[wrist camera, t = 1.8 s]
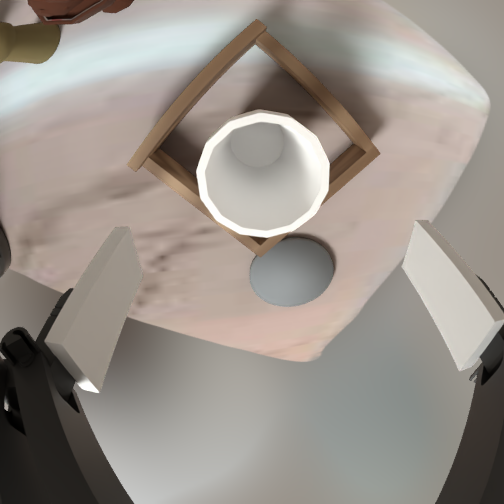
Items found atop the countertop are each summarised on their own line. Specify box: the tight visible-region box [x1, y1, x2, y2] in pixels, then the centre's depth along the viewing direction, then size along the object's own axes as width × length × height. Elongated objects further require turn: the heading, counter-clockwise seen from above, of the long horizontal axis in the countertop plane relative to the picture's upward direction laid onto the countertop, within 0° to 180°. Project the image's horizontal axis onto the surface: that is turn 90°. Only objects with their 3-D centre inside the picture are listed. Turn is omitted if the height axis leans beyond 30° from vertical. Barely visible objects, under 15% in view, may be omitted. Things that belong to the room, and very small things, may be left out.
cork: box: [0, 22, 60, 64], centre depth 15 cm, size 6×6×11 cm
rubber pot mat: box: [250, 237, 334, 307], centre depth 40 cm, size 12×12×1 cm
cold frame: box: [127, 19, 380, 258], centre depth 28 cm, size 18×18×6 cm
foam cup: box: [196, 109, 330, 238], centre depth 25 cm, size 10×9×13 cm
